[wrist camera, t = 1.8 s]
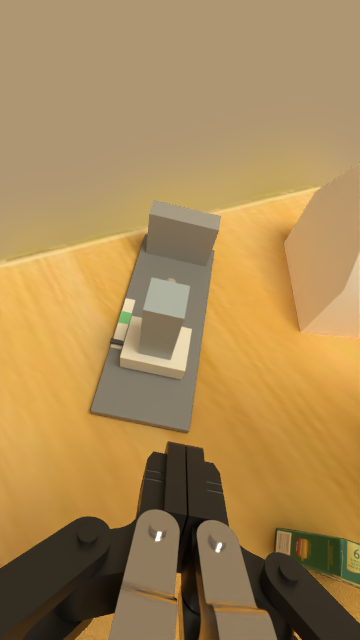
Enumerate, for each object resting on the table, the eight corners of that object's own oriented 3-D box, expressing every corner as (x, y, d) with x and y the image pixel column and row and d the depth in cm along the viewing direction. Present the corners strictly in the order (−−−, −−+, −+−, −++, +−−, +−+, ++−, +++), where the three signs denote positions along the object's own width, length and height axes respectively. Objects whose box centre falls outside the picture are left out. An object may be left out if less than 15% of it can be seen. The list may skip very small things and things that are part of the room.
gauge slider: (195, 293, 48) (217, 229, 37) (181, 379, 40) (203, 332, 29) (131, 278, 47) (133, 209, 36) (104, 363, 40) (97, 309, 29)
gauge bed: (212, 256, 55) (227, 213, 47) (187, 433, 39) (203, 414, 31) (144, 240, 54) (148, 194, 46) (91, 413, 38) (83, 389, 30)
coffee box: (269, 555, 34) (341, 580, 23) (273, 525, 35) (342, 534, 24) (340, 583, 34) (448, 622, 22) (341, 551, 35) (443, 572, 24)
